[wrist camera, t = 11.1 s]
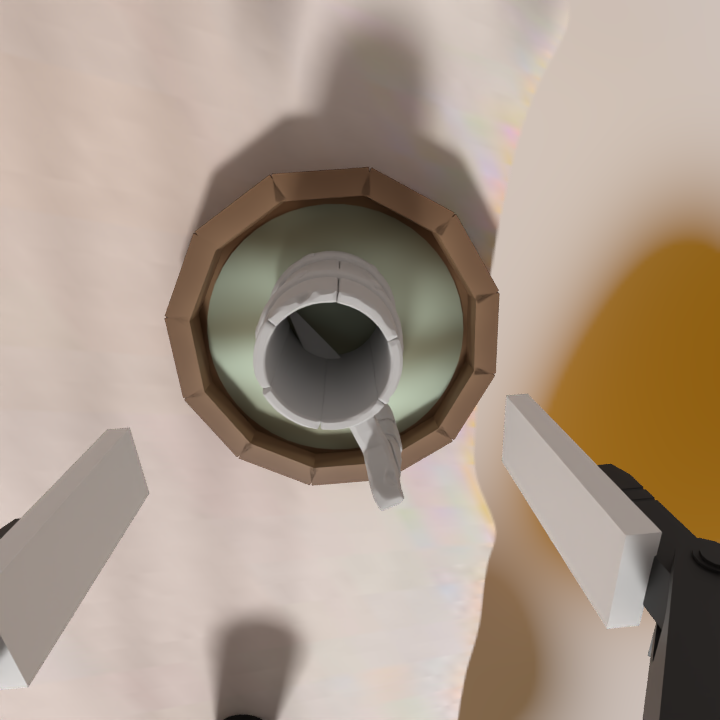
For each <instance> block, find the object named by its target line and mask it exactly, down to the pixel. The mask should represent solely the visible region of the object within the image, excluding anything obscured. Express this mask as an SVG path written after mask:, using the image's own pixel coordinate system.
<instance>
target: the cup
mask: <svg viewBox="0 0 720 720" xmlns="http://www.w3.org/2000/svg"><path fill="white" fill-rule="evenodd" d="M224 720H262V719H260V718H258V717H255V716H250V715H235V716H231V717H228V718H226V719H224Z"/></svg>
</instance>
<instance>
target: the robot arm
mask: <svg viewBox="0 0 720 720" xmlns="http://www.w3.org/2000/svg"><path fill="white" fill-rule="evenodd" d="M502 462H503V464H504V466H505V467H506V469H507V470H508V472H509V474H510V475H511V477H512V478H513V480H514V481H515V483H516V485H517V486H518V488H519V489H520V491H521V492H522V494H523V496H524V497H525V499H526V501H527V502H528V504H529V505H530V507H531V508H532V510H533V512H534V513H535V515H536V517H537V518H538V520H539V521H540V523H541V525H542V526H543V528H544V529H545V531H546V533H547V534H548V535H549V537H550V539H551V541H552V542H553V544H554V545H555V547H556V548H557V550H558V552H559V553H560V555H561V556H562V558H563V560H564V561H565V563H566V564H567V566H568V568H569V569H570V571H571V572H572V574H573V576H574V577H575V579H576V580H577V582H578V583H579V585H580V587H581V588H582V590H583V591H584V593H585V595H586V596H587V598H588V599H589V601H590V603H591V604H592V606H593V607H594V609H595V611H596V612H597V614H598V615H599V617H600V618H601V620H602V622H603V623H604V625H605V626H606V628H607V629H610V628H620V627H630V626H639V625H640V621H641V617H642V613H643V609H644V607H645V608H646V609H647V611H648V612H649V613H650V615H651V616H652V617H653V619H654V620H655V621H656V626H655V629H654V633H653V637H652V641H651V645H650V649H649V652H648V656H650V657H651V658H650V666H649V674H648V681H647V689H646V697H645V705H644V714H643V720H720V544H719V543H717V542H715V541H711V540H706V539H702V538H696V537H695V536H694V535H693V534H692V533H691V532H690V531H689V530H688V529H687V528H686V527H685V526H684V525H683V524H682V523H680V521H678V520H677V519H676V518H675V517H674V516H673V515H672V514H671V513H670V512H669V511H668V510H667V509H666V508H665V507H664V506H663V505H662V504H661V503H659V502H658V501H657V500H655V499H654V497H653V496H652V495H651V494H650V493H649V492H648V491H647V490H644V489H643V486H642V485H640V484H639V483H638V482H637V481H636V480H635V479H634V478H633V477H632V476H631V475H630V474H628V473H626V472H625V471H623V470H621V469H619V468H617V467H616V466H614V465H612V464H604V465H596V464H595V463H594V462H593V461H592V460H591V458H589V456H588V455H586V453H584V451H583V450H582V449H580V447H579V446H578V445H577V444H576V443H575V442H574V441H573V440H572V439H571V438H570V437H569V436H568V435H567V434H566V433H565V432H564V431H563V430H562V429H561V428H560V427H559V426H558V425H557V423H556V422H555V421H553V419H552V418H551V417H550V416H549V415H548V414H547V413H546V412H545V411H544V410H543V409H542V408H541V407H540V406H539V405H538V404H537V403H536V402H535V401H534V400H533V399H532V398H531V397H530V396H529V395H528V394H519V395H507V396H506V406H505V422H504V438H503V453H502ZM148 495H149V490H148V487H147V484H146V480H145V477H144V474H143V470H142V467H141V464H140V460H139V457H138V454H137V450H136V447H135V444H134V440H133V437H132V434H131V430H130V428H120V429H109V430H106V431H105V432H104V433H103V434H102V435H101V436H100V437H99V439H98V440H97V441H96V442H95V443H94V444H93V445H92V446H91V447H90V448H89V449H88V450H87V451H86V452H85V453H84V454H83V455H82V456H81V457H80V458H79V459H78V460H77V461H76V462H75V463H74V464H73V465H72V466H71V467H70V468H69V469H68V470H67V471H66V472H65V473H64V474H63V475H62V477H61V478H60V479H59V480H58V481H57V482H56V483H55V484H54V485H53V486H52V487H51V488H50V489H49V490H48V491H47V492H46V493H45V494H44V495H43V496H42V497H41V498H40V499H39V500H38V501H37V502H36V503H35V504H34V505H33V506H32V507H31V508H30V509H29V510H28V511H27V512H26V513H25V515H24V516H23V517H22V518H20V519H14V520H13V521H11V522H10V523H8V524H7V525H5V526H4V527H3V528H1V529H0V690H4V689H14V688H24V687H29V685H30V684H31V682H32V680H33V679H34V677H35V676H36V674H37V672H38V671H39V669H40V668H41V666H42V664H43V663H44V661H45V660H46V658H47V656H48V655H49V653H50V652H51V650H52V648H53V647H54V645H55V644H56V642H57V640H58V639H59V637H60V636H61V634H62V632H63V631H64V629H65V628H66V626H67V624H68V623H69V621H70V620H71V618H72V616H73V615H74V613H75V612H76V610H77V608H78V607H79V605H80V603H81V602H82V600H83V599H84V597H85V595H86V594H87V592H88V591H89V589H90V587H91V586H92V584H93V583H94V581H95V579H96V578H97V576H98V575H99V573H100V571H101V570H102V568H103V567H104V565H105V563H106V562H107V560H108V559H109V557H110V555H111V554H112V552H113V551H114V549H115V547H116V546H117V544H118V543H119V541H120V539H121V538H122V536H123V535H124V533H125V531H126V530H127V528H128V527H129V525H130V523H131V522H132V520H133V519H134V517H135V515H136V514H137V512H138V511H139V509H140V507H141V506H142V504H143V503H144V501H145V499H146V498H147V496H148Z"/></svg>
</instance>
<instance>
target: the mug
mask: <svg viewBox="0 0 720 720" xmlns="http://www.w3.org/2000/svg"><path fill="white" fill-rule="evenodd" d="M330 302H337V303H340V304H343V305H347V306H350V307H352V308H355V309H357V310H359V311H361V312H362V313H364V314H365V315H367V316H368V317H369V318H370V319H372V320H373V321H374V322H375V323H376V324H377V326H376V328H375V330H374V332H373V333H372V334H371V336H370V339H368V340H367V341H366V342H365V343H364V344H363V345H362V346H360V347H359V348H357V349H356V350H354V351H351V352H349V353H345V354H340V355H338V354H337V353H336V352H335V351H334V350H333V349H332V348H331V347H330V346H329V345H328V343H327V342H326V341H325V340H324V339H323V338H322V337H321V336H320V335H319V334H318V333H317V332H316V331H315V330H314V329H313V328H312V327H311V326H310V325H309V324H308V323H307V322H306V321H305V320H304V319H303V318H302V317H301V316H300V315H299V314H298V313H297V312H296V310H298V309H300V308H303V307H306V306H308V305H312V304H317V303H330ZM288 315H289V316H290V318H291V320H292V323H293V325H294V327H295V330H296V332H297V334H298V337H299V339H300V341H299V340H298V339H297V337H296V336H295V334H294V333H293V331H292V329H291V328H290V324H289V322H288V319H287V316H288ZM255 337H256V341H255V345H254V352H253V367H254V373H255V377H256V379H257V381H258V382H259V384H260V386H261V387H262V388H263V395H264V397H265V398H266V400H267V401H268V402H269V403H270V404H271V405H272V407H273V408H274V409H275V410H276V411H278V412H279V413H280V414H282V415H283V416H285V417H286V418H288V419H289V420H291V421H293V422H295V423H297V424H299V425H302V426H305V427H308V428H314V429H318V427H319V425H320V423H321V429H323V430H338V429H345V428H350V429H351V431H352V433H353V435H354V437H355V439H356V441H357V443H358V445H359V446H360V448H361V450H362V452H363V455H364V460H365V465H366V469H367V474H368V479H369V484H370V487H371V491H372V494H373V497H374V500H375V502H376V504H377V506H378V508H379V509H380V510H381V511H384V510H386V509H389V508H391V507H393V506H396V505H398V504H400V503H401V502H402V501H403V499H404V496H403V492H402V490H401V484H400V473H401V462H402V459H401V452H402V443H401V439H400V435H399V431H398V428H397V424H396V421H395V418H394V415H393V412H392V410H391V408H390V406H389V405H388V404H387V403H388V402H389V398H390V397H391V396H392V395H393V393H394V392H395V390H396V388H397V386H398V383H399V380H400V377H401V373H402V367H403V349H404V346H403V334H402V327H401V323H400V320H399V317H398V314H397V312H396V306H395V300H394V297H393V294H392V291H391V288H390V286H389V285H388V283H387V281H386V280H385V278H384V277H383V276H382V275H381V273H380V272H379V271H378V269H377V268H376V267H375V266H374V265H373V264H370V263H368V262H367V261H365V260H364V259H362V258H360V257H358V256H355V255H353V254H350V253H346V252H340V251H323V252H318V253H311V254H308V255H306V256H304V257H303V258H301V259H300V260H298V261H296V262H295V263H293V264H292V265H291V266H290V267H288V268H287V269H286V270H285V272H284V273H283V274H282V275H281V276H280V278H279V279H278V281H277V282H276V284H275V286H274V288H273V290H272V293H271V296H270V299H269V301H268V302H267V304H266V305H265V307H264V309H263V312H262V314H261V317H260V320H259V322H258V325H257V327H256V332H255Z"/></svg>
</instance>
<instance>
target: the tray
mask: <svg viewBox="0 0 720 720" xmlns="http://www.w3.org/2000/svg"><path fill="white" fill-rule="evenodd" d="M195 232H196V233H194V234H193V236H192V239H191V242H190V245H189V248H188V250H187V253H186V256H185V259H184V262H183V265H182V268H181V271H180V273H179V276H178V279H177V282H176V285H175V288H174V291H173V294H172V296H171V299H170V302H169V305H168V308H167V311H166V314H165V316H166V318H165V322H166V326H167V331H168V335H169V339H170V344H171V348H172V352H173V356H174V361H175V365H176V369H177V374H178V378H179V382H180V386H181V391H182V395H183V398H185V401H186V402H187V403H188V404H189V406H190V407H191V408H192V409H193V410H194V411H195V412H196V413H197V414H198V415H199V416H200V417H201V419H202V420H203V421H204V422H205V423H206V424H207V425H208V426H209V427H210V428H211V429H212V431H213V432H214V433H215V434H216V435H217V436H218V437H219V438H220V439H221V440H222V441H223V442H224V444H225V445H226V446H227V447H228V448H229V449H230V450H231V451H232V452H233V453H234V454H235V456H236V457H238V456H240V457H239V459H242V460H244V461H247V462H250V463H252V464H255V465H258V466H260V467H263V468H266V469H268V470H271V471H274V472H276V473H279V474H281V475H284V476H287V477H289V478H292V479H295V480H297V481H300V482H303V483H305V484H308V485H310V484H311V482H312V485H324V484H336V483H348V482H361V481H369V479H368V474H367V469H366V465H365V460H364V455H363V452H362V450H361V448H360V446H359V445H358V443H357V441H356V439H355V437H354V435H353V433H352V431H351V429H350V428H345V429H338V430H323V429H321V423H320V425H319V427H318V429H314V428H308V427H305V426H302V425H299V424H297V423H295V422H293V421H291V420H289V419H288V418H286V417H285V416H283V415H282V414H280V413H279V412H278V411H276V410H275V409H274V408H273V407H272V405H271V404H270V403H269V402H268V401H267V400H266V398H265V397H264V395H263V388H262V387H261V386H260V384H259V382H258V381H257V379H256V377H255V373H254V367H253V352H254V345H255V341H256V337H255V332H256V327H257V325H258V322H259V320H260V317H261V314H262V312H263V309H264V307H265V305H266V304H267V302H268V301H269V299H270V296H271V293H272V290H273V288H274V286H275V284H276V282H277V281H278V279H279V278H280V276H281V275H282V274H283V273H284V272H285V270H286V269H287V268H288V267H290V266H291V265H292V264H293V263H295V262H296V261H298V260H300V259H301V258H303V257H304V256H306V255H308V254H311V253H318V252H323V251H340V252H346V253H350V254H353V255H355V256H358V257H360V258H362V259H364V260H365V261H367V262H368V263H370V264H373V265H374V266H375V267H376V268H377V269H378V271H379V272H380V273H381V275H382V276H383V277H384V278H385V280H386V281H387V283H388V285H389V286H390V288H391V291H392V294H393V297H394V300H395V306H396V312H397V314H398V317H399V320H400V323H401V327H402V334H403V346H404V349H403V367H402V373H401V377H400V380H399V383H398V386H397V388H396V390H395V392H394V393H393V395H392V396H391V397H390V398H389V402H388V403H387V404H388V405H389V406H390V408H391V410H392V412H393V415H394V418H395V421H396V424H397V428H398V431H399V435H400V439H401V443H402V452H401V459H402V462H401V471H402V470H404V469H406V468H408V467H409V466H411V465H413V464H414V463H416V462H418V461H420V460H421V459H423V458H425V457H427V456H428V455H430V454H432V453H433V452H435V451H437V450H439V449H440V448H442V447H444V446H445V445H447V444H449V443H451V442H452V439H453V440H454V439H455V438H456V436H457V435H458V433H459V431H460V430H461V428H462V427H463V425H464V424H465V422H466V420H467V419H468V417H469V416H470V414H471V413H472V411H473V409H474V408H475V406H476V405H477V403H478V402H479V400H480V398H481V397H482V395H483V394H484V392H485V390H486V389H487V387H488V385H489V384H490V383H491V381H492V379H493V378H494V376H495V375H494V374H495V373H496V355H497V334H498V333H497V332H498V312H499V293H498V288H497V287H496V285H495V283H494V281H493V279H492V278H491V276H490V274H489V272H488V270H487V269H486V267H485V265H484V263H483V261H482V260H481V258H480V256H479V254H478V252H477V251H476V249H475V247H474V245H473V243H472V242H471V240H470V238H469V236H468V234H467V233H466V231H465V229H464V227H463V225H462V224H461V222H460V220H459V218H458V216H457V215H456V214H454V212H452V211H451V210H449V209H447V208H445V207H443V206H441V205H440V204H438V203H436V202H434V201H432V200H430V199H428V198H427V197H425V196H423V195H421V194H419V193H417V192H416V191H414V190H412V189H410V188H408V187H406V186H405V185H403V184H401V183H399V182H397V181H395V180H393V179H392V178H390V177H388V176H386V175H384V174H382V173H381V172H379V171H377V170H375V169H373V168H371V169H370V170H369V167H362V168H348V169H334V170H320V171H306V172H292V173H278V174H272V176H271V175H269V176H267V177H266V178H265V179H263V180H262V181H261V182H259V183H258V184H257V185H255V186H254V187H253V188H252V189H250V190H249V191H248V192H246V193H245V194H244V195H242V196H241V197H240V198H238V199H237V200H236V201H234V202H233V203H232V204H230V205H229V206H228V207H227V208H225V209H224V210H223V211H221V212H220V213H219V214H217V215H216V216H215V217H213V218H212V219H211V220H209V221H208V222H207V223H205V224H204V225H203V226H202V227H200V228H199V229H198V230H196V231H195ZM296 312H297V313H298V314H299V315H300V316H301V317H302V318H303V319H304V320H305V321H306V322H307V323H308V324H309V325H310V326H311V327H312V328H313V329H314V330H315V331H316V332H317V333H318V334H319V335H320V336H321V337H322V338H323V339H324V340H325V341H326V342H327V343H328V345H329V346H330V347H331V348H332V349H333V350H334V351H335V352H336V353H337V354H338V355H340V354H345V353H349V352H351V351H354V350H356V349H357V348H359V347H360V346H362V345H363V344H364V343H365V342H366V341H367V340H368V339H370V336H371V334H372V333H373V332H374V330H375V328H376V326H377V324H376V323H375V322H374V321H373V320H372V319H370V318H369V317H368V316H367V315H365V314H364V313H362V312H361V311H359V310H357V309H355V308H352V307H350V306H347V305H343V304H340V303H337V302H330V303H317V304H312V305H308V306H306V307H303V308H300V309H298V310H296ZM287 319H288V322H289V324H290V328H291V329H292V331H293V333H294V334H295V336H296V337H297V339H298V340H299V341H300V339H299V337H298V334H297V332H296V330H295V327H294V325H293V323H292V320H291V318H290V316H289V315H288V316H287Z"/></svg>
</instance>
